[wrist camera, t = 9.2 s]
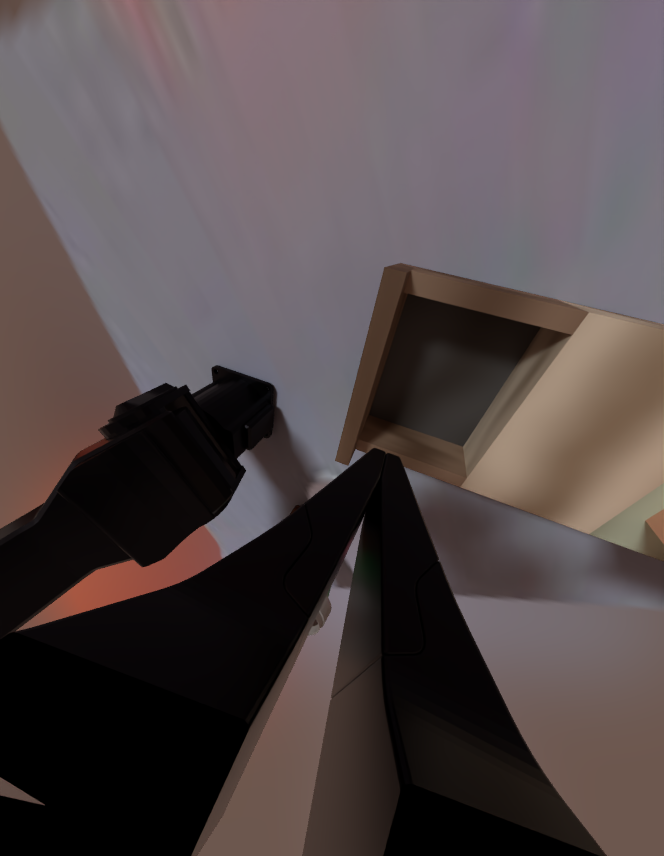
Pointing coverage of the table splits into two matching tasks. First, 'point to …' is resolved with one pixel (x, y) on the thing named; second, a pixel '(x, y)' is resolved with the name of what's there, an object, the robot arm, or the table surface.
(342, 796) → the robot arm
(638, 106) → the table surface
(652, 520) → the terracotta block
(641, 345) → the track
